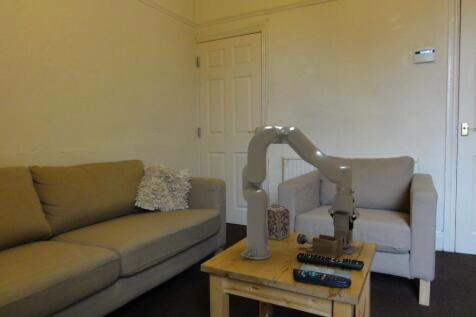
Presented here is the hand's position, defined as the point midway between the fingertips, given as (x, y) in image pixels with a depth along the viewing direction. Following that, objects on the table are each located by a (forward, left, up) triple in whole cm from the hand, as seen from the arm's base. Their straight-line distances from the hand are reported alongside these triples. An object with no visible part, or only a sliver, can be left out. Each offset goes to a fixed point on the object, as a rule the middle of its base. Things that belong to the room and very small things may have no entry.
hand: (343, 228), depth 167 cm
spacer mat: (0, 0, -10) cm, 10 cm away
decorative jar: (-3, +37, -10) cm, 38 cm away
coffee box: (0, 0, -8) cm, 8 cm away
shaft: (-12, +10, -8) cm, 18 cm away
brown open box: (-12, +3, -10) cm, 16 cm away
